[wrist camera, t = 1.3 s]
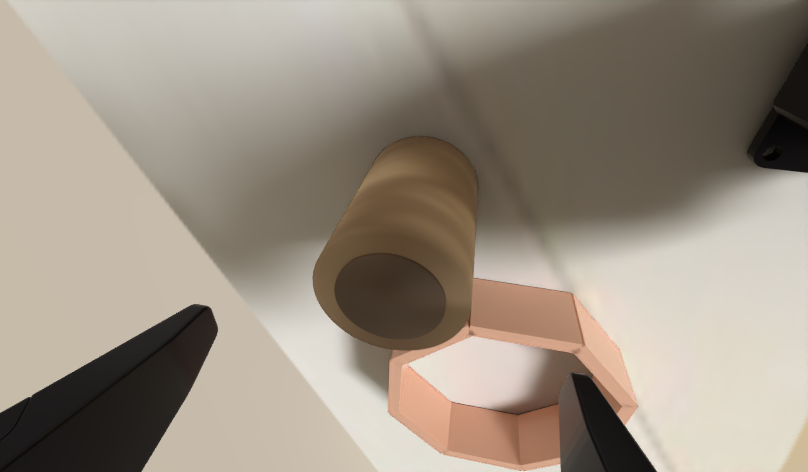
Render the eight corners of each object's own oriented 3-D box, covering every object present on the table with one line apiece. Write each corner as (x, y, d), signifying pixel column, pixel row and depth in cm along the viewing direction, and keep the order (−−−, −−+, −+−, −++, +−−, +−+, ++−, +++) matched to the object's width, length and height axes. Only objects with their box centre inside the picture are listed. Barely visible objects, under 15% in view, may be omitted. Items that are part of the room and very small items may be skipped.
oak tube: (486, 143, 15) (484, 248, 9) (469, 240, 17) (459, 365, 12) (368, 130, 15) (302, 222, 10) (369, 226, 18) (318, 340, 13)
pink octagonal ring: (647, 304, 18) (672, 359, 15) (573, 431, 24) (582, 483, 22) (404, 267, 19) (391, 312, 16) (396, 397, 25) (387, 442, 23)
